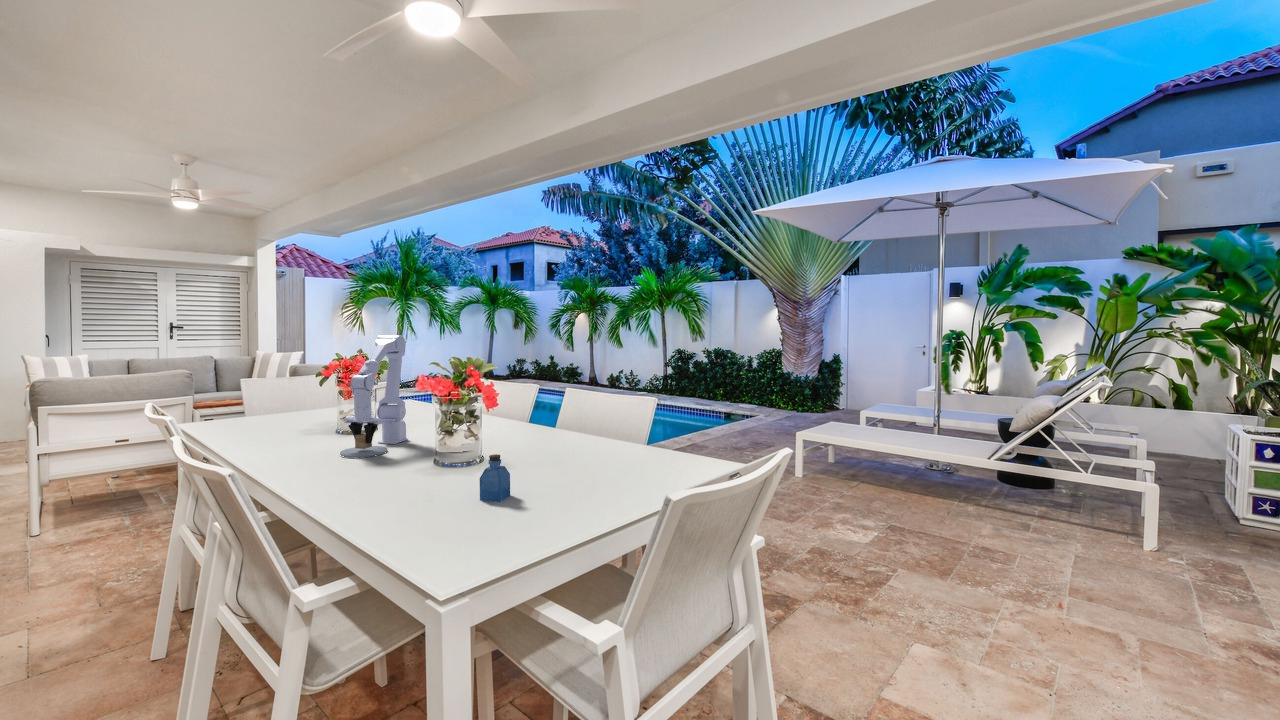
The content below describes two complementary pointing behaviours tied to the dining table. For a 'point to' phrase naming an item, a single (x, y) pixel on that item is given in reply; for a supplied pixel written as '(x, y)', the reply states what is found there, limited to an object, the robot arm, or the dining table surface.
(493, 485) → the perfume bottle
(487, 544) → the dining table surface
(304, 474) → the dining table surface
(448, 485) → the dining table surface
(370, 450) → the slate dish
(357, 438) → the walnut block
